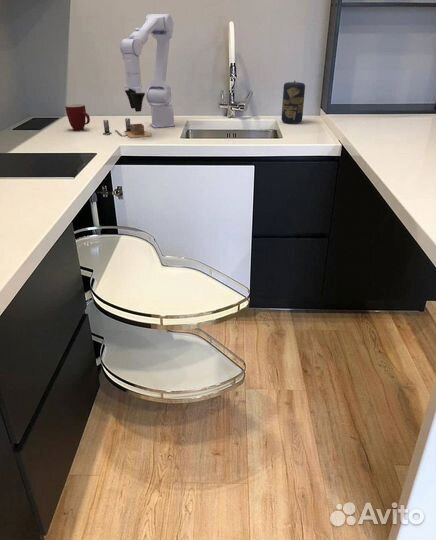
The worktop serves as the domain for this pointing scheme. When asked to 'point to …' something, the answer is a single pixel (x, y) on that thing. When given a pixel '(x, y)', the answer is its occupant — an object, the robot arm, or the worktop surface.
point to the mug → (77, 116)
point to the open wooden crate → (137, 129)
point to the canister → (293, 102)
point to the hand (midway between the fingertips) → (136, 109)
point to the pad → (138, 135)
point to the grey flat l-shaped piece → (119, 133)
